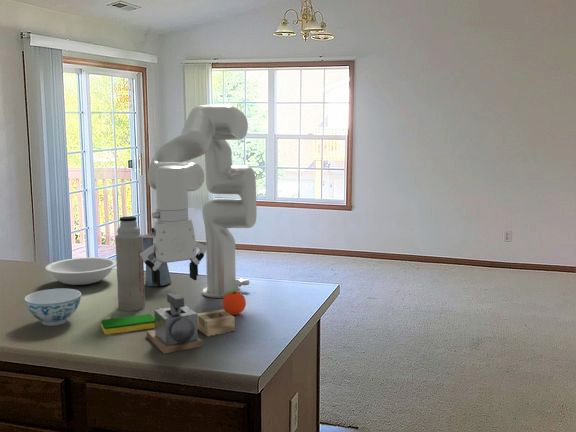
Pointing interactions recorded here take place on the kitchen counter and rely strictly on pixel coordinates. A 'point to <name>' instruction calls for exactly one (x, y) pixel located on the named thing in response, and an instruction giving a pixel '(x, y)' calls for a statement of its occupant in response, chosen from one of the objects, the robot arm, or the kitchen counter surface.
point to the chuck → (175, 326)
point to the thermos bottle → (130, 265)
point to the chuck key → (175, 302)
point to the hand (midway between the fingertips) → (175, 281)
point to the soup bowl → (81, 270)
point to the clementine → (234, 302)
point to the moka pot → (162, 268)
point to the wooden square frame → (215, 322)
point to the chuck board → (172, 347)
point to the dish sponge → (128, 324)
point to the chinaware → (53, 305)
